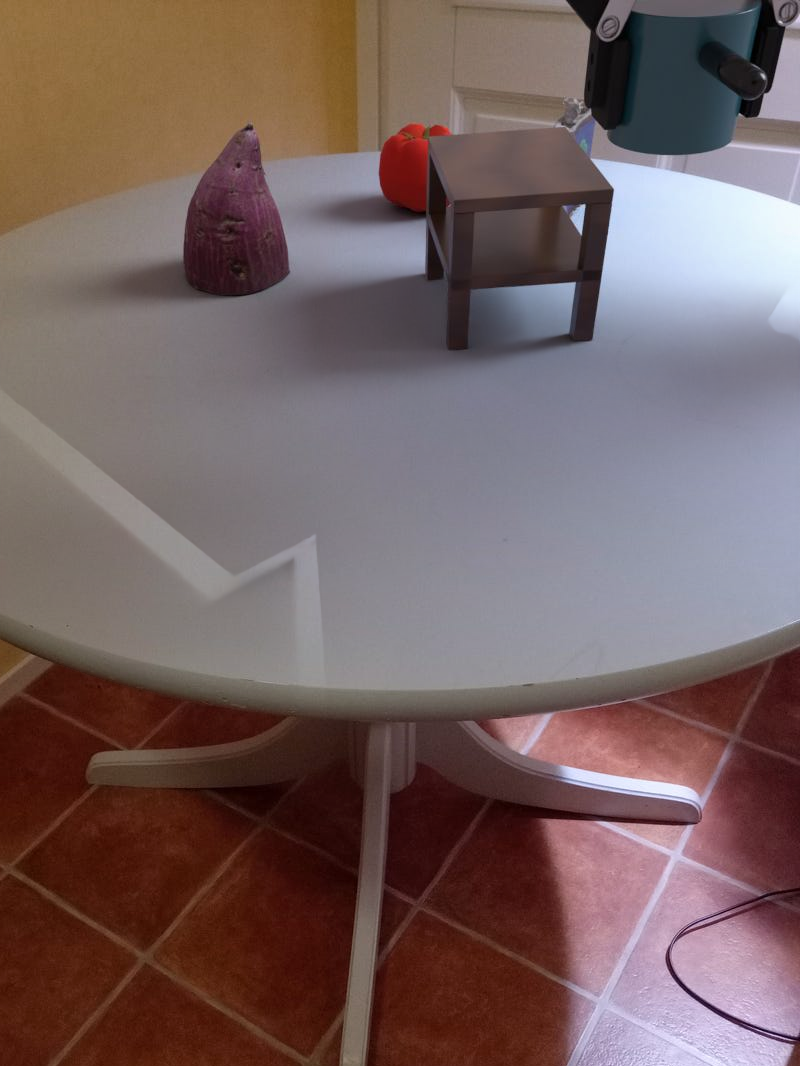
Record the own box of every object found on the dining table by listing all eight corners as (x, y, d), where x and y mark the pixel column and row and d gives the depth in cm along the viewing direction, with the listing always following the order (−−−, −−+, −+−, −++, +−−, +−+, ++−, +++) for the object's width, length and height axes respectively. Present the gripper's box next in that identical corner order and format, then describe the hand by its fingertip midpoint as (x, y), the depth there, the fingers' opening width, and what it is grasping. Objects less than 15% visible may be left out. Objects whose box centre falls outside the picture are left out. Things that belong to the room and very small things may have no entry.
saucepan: (709, 113, 54) (733, -17, 50) (803, 191, 45) (842, 41, 40) (593, 123, 54) (608, -6, 50) (663, 203, 45) (689, 54, 40)
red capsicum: (420, 227, 101) (421, 149, 96) (363, 206, 106) (362, 132, 101) (483, 203, 105) (487, 127, 100) (426, 184, 110) (427, 111, 105)
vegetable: (297, 288, 99) (331, 130, 90) (263, 319, 91) (297, 149, 82) (202, 255, 100) (226, 95, 91) (161, 283, 92) (182, 111, 83)
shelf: (551, 263, 93) (565, 126, 84) (592, 340, 81) (614, 188, 73) (425, 272, 93) (427, 136, 84) (448, 350, 81) (454, 200, 73)
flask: (561, 229, 99) (574, 112, 91) (533, 225, 100) (544, 110, 93) (588, 199, 104) (602, 87, 97) (562, 196, 106) (574, 85, 98)
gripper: (558, -368, 36) (521, 153, 48) (1030, -410, 36) (872, 123, 48) (517, -355, 41) (493, 110, 54) (926, -391, 41) (808, 83, 53)
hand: (673, 113), depth 51 cm, fingers closed on saucepan, 6 cm apart
